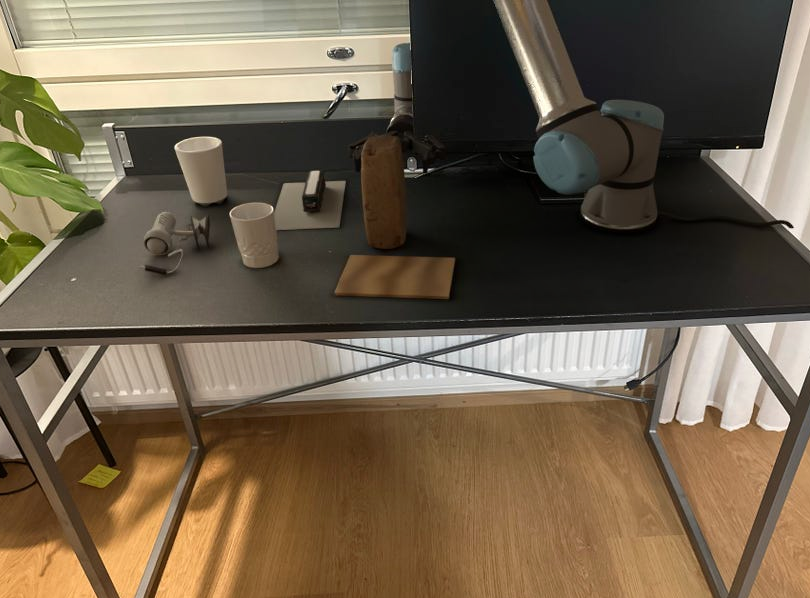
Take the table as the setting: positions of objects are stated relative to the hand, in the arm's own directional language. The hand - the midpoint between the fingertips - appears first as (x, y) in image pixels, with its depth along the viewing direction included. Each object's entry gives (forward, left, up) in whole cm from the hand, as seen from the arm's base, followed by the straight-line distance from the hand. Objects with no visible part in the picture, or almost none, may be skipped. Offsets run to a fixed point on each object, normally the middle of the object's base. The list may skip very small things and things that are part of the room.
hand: (390, 166), depth 138 cm
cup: (+43, -9, -12) cm, 45 cm away
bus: (+20, -8, -12) cm, 25 cm away
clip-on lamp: (+40, +17, -12) cm, 45 cm away
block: (0, +8, -12) cm, 15 cm away
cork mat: (-4, +23, -12) cm, 26 cm away
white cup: (+23, +18, -12) cm, 32 cm away
